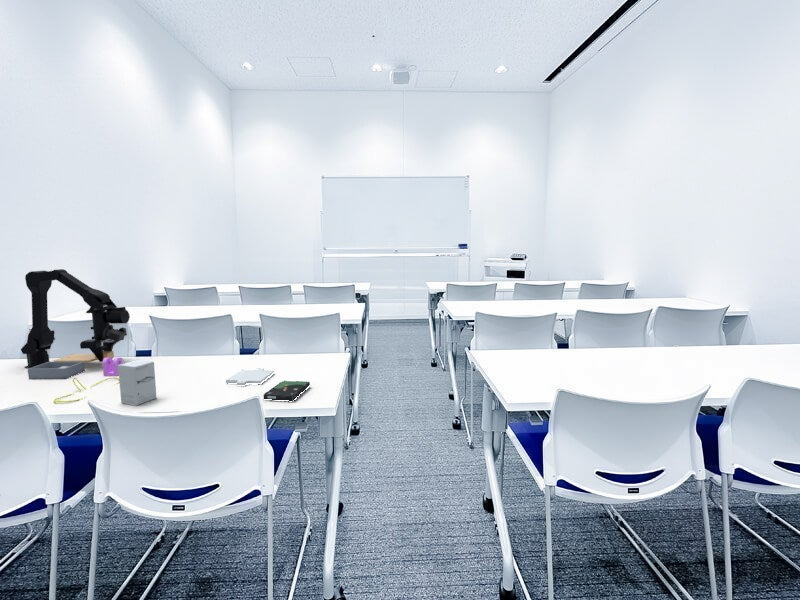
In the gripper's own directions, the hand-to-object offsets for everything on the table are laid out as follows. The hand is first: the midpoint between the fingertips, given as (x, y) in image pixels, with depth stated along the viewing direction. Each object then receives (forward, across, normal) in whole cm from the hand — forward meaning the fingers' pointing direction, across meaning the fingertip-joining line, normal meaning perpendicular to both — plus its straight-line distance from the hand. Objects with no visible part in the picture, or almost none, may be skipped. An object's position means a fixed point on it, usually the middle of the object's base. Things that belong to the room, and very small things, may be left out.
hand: (104, 360), depth 181 cm
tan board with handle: (-1, 0, +7) cm, 7 cm away
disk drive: (+3, -35, -85) cm, 92 cm away
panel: (+2, -13, +10) cm, 16 cm away
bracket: (+3, -8, -12) cm, 15 cm away
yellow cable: (+3, -31, -15) cm, 35 cm away
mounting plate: (+3, -19, -67) cm, 70 cm away
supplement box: (+2, -41, -38) cm, 56 cm away
